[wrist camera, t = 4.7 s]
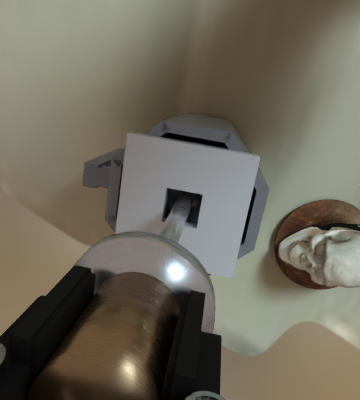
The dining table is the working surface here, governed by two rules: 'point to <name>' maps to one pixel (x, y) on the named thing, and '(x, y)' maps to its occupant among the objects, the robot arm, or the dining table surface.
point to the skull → (321, 245)
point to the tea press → (186, 186)
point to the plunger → (130, 313)
